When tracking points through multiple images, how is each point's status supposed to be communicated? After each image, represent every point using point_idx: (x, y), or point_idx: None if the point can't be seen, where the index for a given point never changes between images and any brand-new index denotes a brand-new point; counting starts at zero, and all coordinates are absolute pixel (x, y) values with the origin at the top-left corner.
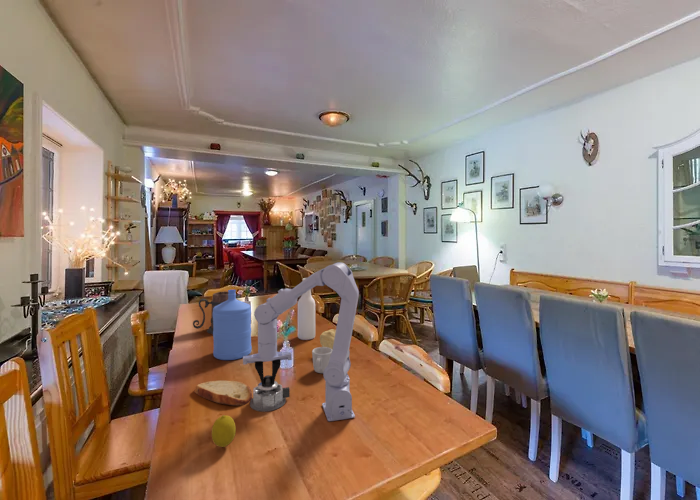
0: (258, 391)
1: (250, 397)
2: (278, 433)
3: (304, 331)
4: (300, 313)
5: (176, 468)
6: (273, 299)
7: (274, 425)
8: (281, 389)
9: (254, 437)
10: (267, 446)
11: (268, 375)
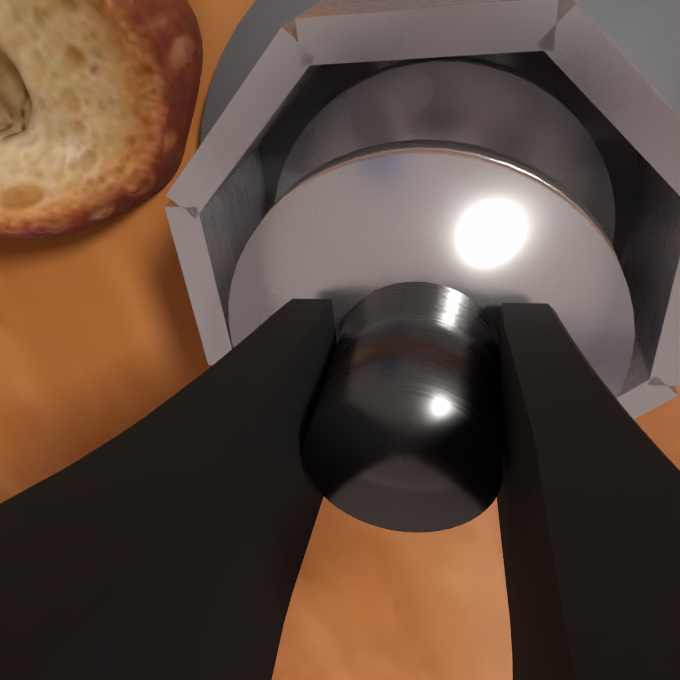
0: (267, 128)
1: (174, 82)
2: (505, 627)
3: None
4: None
5: None
6: None
7: (484, 561)
8: (670, 362)
9: (345, 608)
10: (428, 677)
11: (415, 406)
